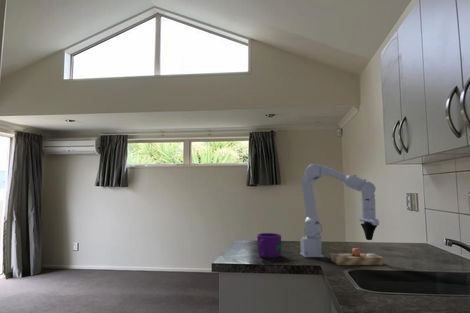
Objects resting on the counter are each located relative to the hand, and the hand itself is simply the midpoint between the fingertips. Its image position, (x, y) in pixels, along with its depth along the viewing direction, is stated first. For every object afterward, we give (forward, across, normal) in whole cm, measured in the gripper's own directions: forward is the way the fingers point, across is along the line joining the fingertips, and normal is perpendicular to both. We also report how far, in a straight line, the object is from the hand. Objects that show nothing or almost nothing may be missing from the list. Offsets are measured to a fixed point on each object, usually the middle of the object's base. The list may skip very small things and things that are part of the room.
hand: (369, 239), depth 147 cm
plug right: (+10, 0, 0) cm, 10 cm away
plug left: (+10, 0, +13) cm, 16 cm away
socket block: (+10, 0, +6) cm, 12 cm away
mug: (+10, +12, +44) cm, 47 cm away
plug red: (+7, 0, +6) cm, 9 cm away
